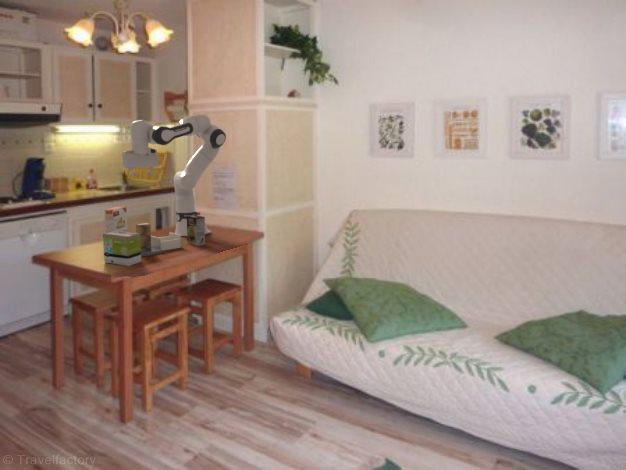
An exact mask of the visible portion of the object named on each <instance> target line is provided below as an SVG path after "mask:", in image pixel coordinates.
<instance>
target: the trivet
mask: <svg viewBox="0 0 626 470" xmlns="http://www.w3.org/2000/svg"><path fill="white" fill-rule="evenodd" d="M151 249H152V250H148V251H142V252H141V258H143V257H147V256H154V255H155V256H156V255H160V254H164V251H163V250H160V249H157V248H154V247H151ZM142 256H143V257H142Z"/></svg>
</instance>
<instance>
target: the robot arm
mask: <svg viewBox="0 0 626 470" xmlns="http://www.w3.org/2000/svg"><path fill="white" fill-rule="evenodd" d="M178 123H179V124H178V125H175V126H171V127H169V126H163V125H162V126H154V125H152V124H151V123H149V122H147V120H145V119H139V120H138V119H137V120H134V121H133V122H131V125H130V138H131V150H124V151H123V152H122V167H123V168H124V169H129V170H128V171H129V172H130V174H131V177H136V172H134V168H135V169H137V168H138V169H139V168H148V169H149V170H148V171H147V172H146V174H147V176H152V172H153V170H154V168H158V167H159V163H160V161H159V156H158V154H157V153H158V150H157V149H155V148H152V147H149V144H150V145H151V144H152V145H161V146H167V145H169V144H170V143H171V142H172V141H173V140H174V139H175V140H176V139H178V138H181V137H190V136H197V137H198V138H200V139H201V140H203V144H202V145H201V146H200V147H199V148H198V149H197V150H196V152H195V153H194V154H193V155H192V157H191V158H190V159H189V161H188V162H187V164H186V165H185V167H184V169H183V170H179V171H177V172H176V173H175V174H174V176H173V187H174V188H173V189H174V194H175V203H176V204H175V205H176V207H175V208H176V211H175V220H176V226H175V231H174V233H175V234H178V235H181V237H187V216H191V215H197V216H201V211H196V207H195V206H196V205H195V204H196V202H195V196H194V189H195V188H196V185H197V184H198V182H199V181H200V179H201V178H202V175H203V174H204V172H205V171H206V170H207V168H208V167H209V166H210V165H211V164H212V163H213V162H214V160H215V158H216V157H217V156H218V153H219V151H220V148H221V147H223V145H224V143H226V138H227V134H226V132H225V131H224V130H223V129H221V128H219V127H218V126H216V125H214V124H212V123H211V119H210V117H209V116H208V115H206V114H195V115H190V116H185V117H183V118H182V119H180V120H179V122H178ZM207 234H211V230H209V229H208V227H207V223H206V222H205V235H207Z"/></svg>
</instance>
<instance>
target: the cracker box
mask: <svg viewBox="0 0 626 470" xmlns="http://www.w3.org/2000/svg"><path fill="white" fill-rule="evenodd" d="M127 210H128V209H127V207H126V206H114V207H111V208H107V209H104V225H105V227H104V228H105V234H106V233H110V232H113V231H123V232H128V216H127V215H128V213H127Z"/></svg>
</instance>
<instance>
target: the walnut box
mask: <svg viewBox="0 0 626 470" xmlns="http://www.w3.org/2000/svg"><path fill="white" fill-rule="evenodd" d="M151 227H152V226H151V223H148V222H145V223H144V222H143V223H136V224H135V229H136V232H135V233H140V241H141V252H142V251H148V250H152V249H151V236H152V233H151V232H152V230H151V229H152V228H151Z"/></svg>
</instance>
